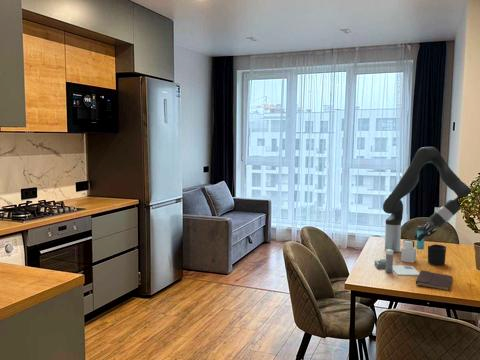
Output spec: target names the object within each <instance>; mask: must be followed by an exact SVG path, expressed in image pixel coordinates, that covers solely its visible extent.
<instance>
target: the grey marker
mask: <svg viewBox="0 0 480 360" xmlns="http://www.w3.org/2000/svg"><path fill="white" fill-rule="evenodd" d="M385 259H386V269H384V270H385V273H386V274H393V272H394V271H393V266H394V252H393V250H391V249H386V250H385Z"/></svg>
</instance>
